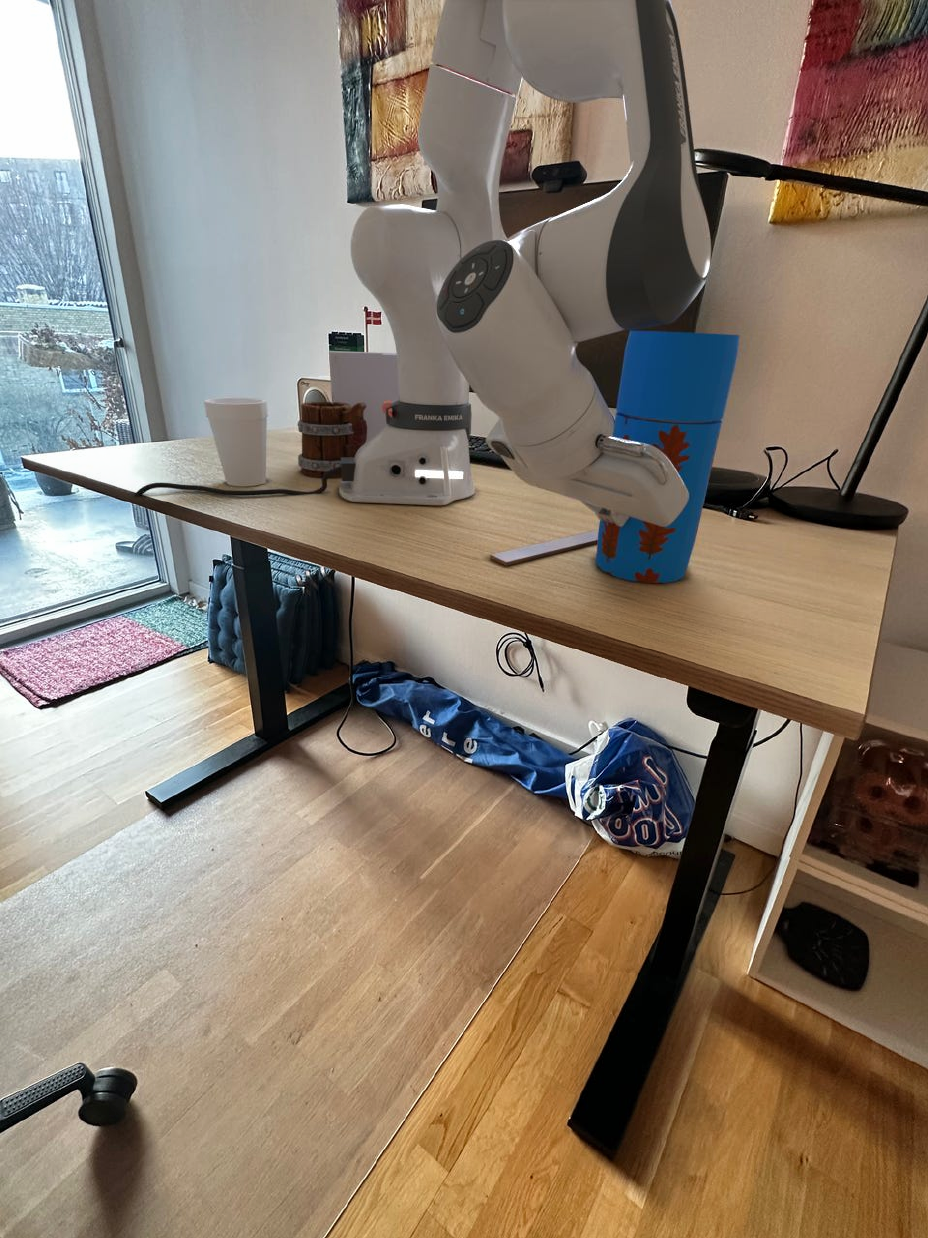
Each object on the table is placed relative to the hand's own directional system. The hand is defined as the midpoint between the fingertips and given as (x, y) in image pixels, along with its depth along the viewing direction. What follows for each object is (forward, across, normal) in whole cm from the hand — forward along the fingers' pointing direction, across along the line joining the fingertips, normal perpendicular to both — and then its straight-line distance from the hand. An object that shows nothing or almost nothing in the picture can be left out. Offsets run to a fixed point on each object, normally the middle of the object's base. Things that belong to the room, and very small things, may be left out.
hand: (615, 518), depth 63 cm
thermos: (+9, 0, +1) cm, 9 cm away
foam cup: (-10, +62, +19) cm, 65 cm away
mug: (+2, +61, +8) cm, 62 cm away
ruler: (+10, +10, 0) cm, 14 cm away
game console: (+15, +69, -5) cm, 71 cm away
